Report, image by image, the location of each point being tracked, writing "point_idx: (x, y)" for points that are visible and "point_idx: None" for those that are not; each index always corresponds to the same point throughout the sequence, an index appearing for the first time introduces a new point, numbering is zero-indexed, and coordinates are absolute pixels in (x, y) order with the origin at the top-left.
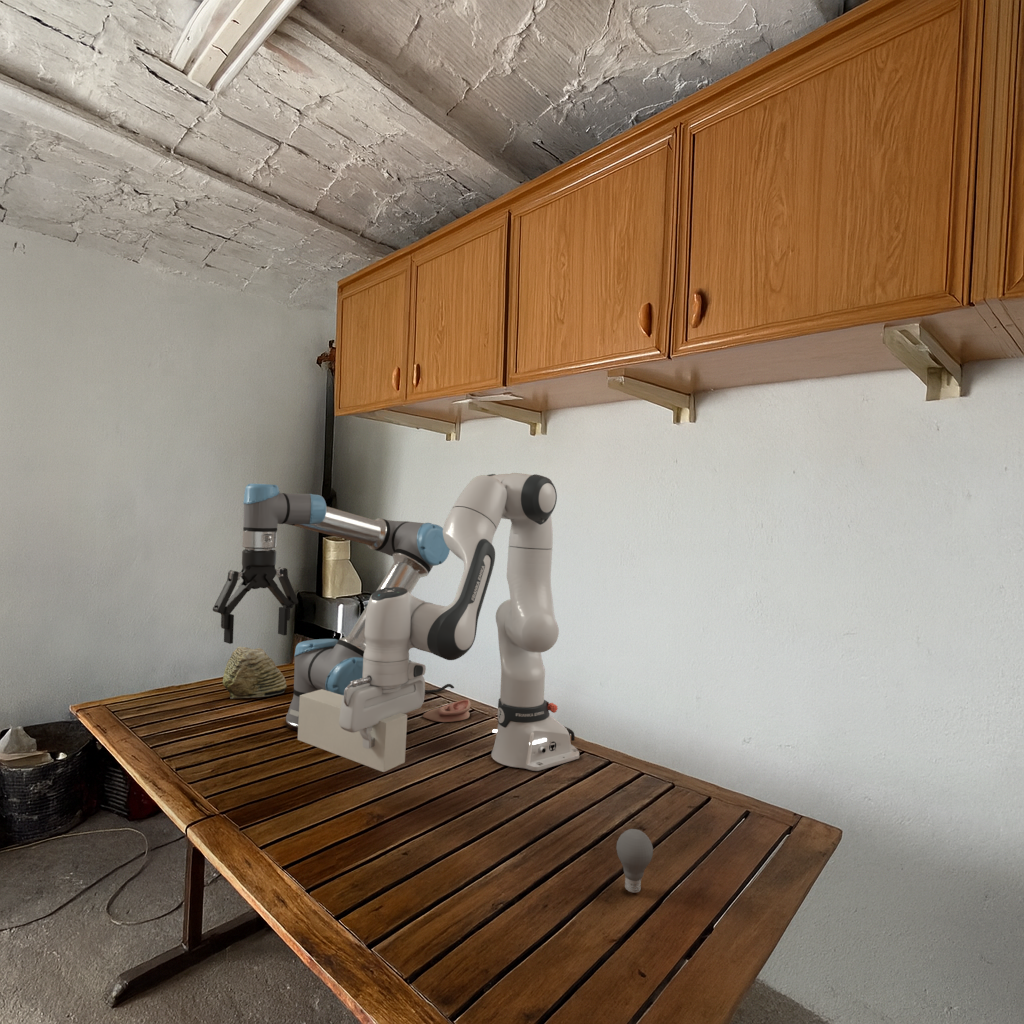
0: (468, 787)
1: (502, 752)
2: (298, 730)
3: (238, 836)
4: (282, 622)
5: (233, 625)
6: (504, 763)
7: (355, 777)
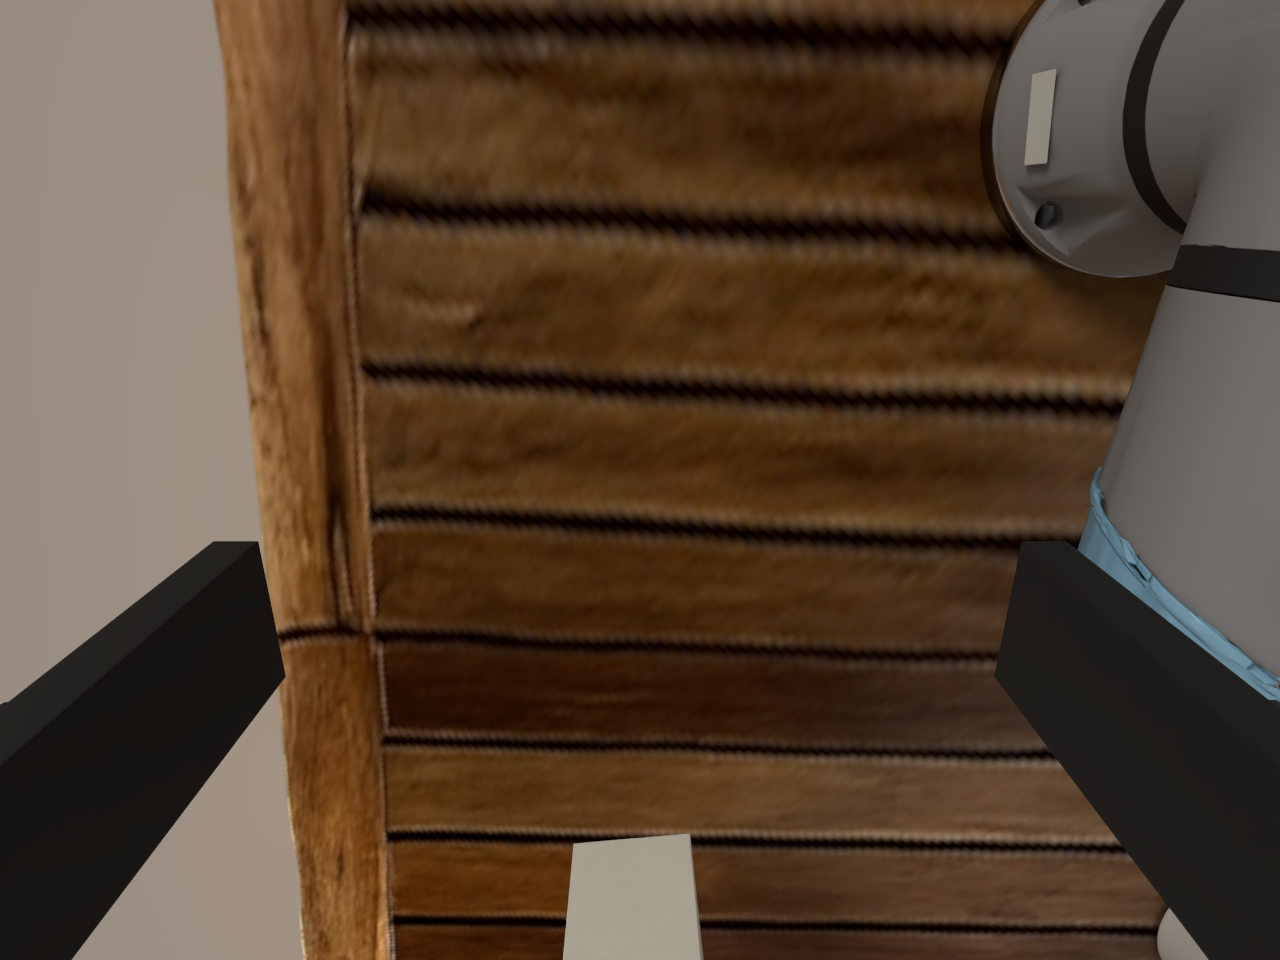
0: (966, 940)
1: (1193, 952)
2: (571, 879)
3: (365, 765)
4: (1106, 755)
5: (140, 866)
6: (1161, 935)
7: (805, 709)
